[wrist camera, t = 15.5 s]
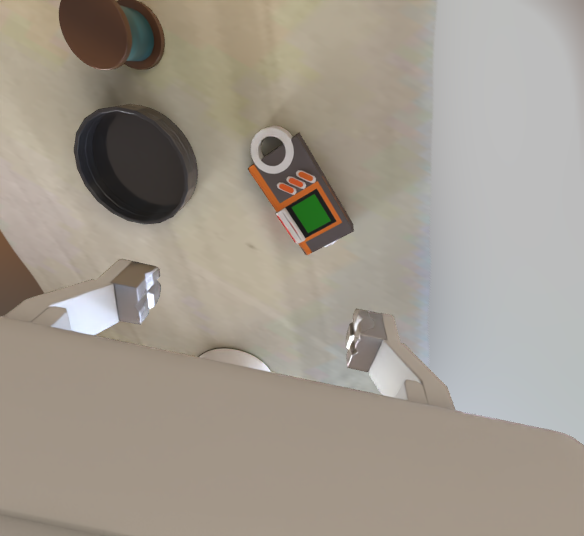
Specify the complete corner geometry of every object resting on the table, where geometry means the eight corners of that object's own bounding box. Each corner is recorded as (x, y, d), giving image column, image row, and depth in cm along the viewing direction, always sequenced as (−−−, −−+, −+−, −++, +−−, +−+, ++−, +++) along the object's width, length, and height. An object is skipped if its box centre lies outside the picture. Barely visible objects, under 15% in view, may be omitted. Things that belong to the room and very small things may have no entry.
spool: (165, 74, 34) (130, 76, 28) (112, 63, 34) (65, 62, 28) (163, 6, 31) (123, -8, 25) (105, -6, 31) (51, -23, 25)
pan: (197, 222, 42) (187, 233, 40) (100, 202, 42) (84, 212, 40) (198, 117, 36) (187, 121, 33) (84, 93, 36) (63, 95, 33)
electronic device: (283, 113, 32) (355, 235, 37) (287, 111, 35) (354, 225, 40) (231, 151, 35) (305, 260, 40) (239, 146, 37) (307, 249, 42)
